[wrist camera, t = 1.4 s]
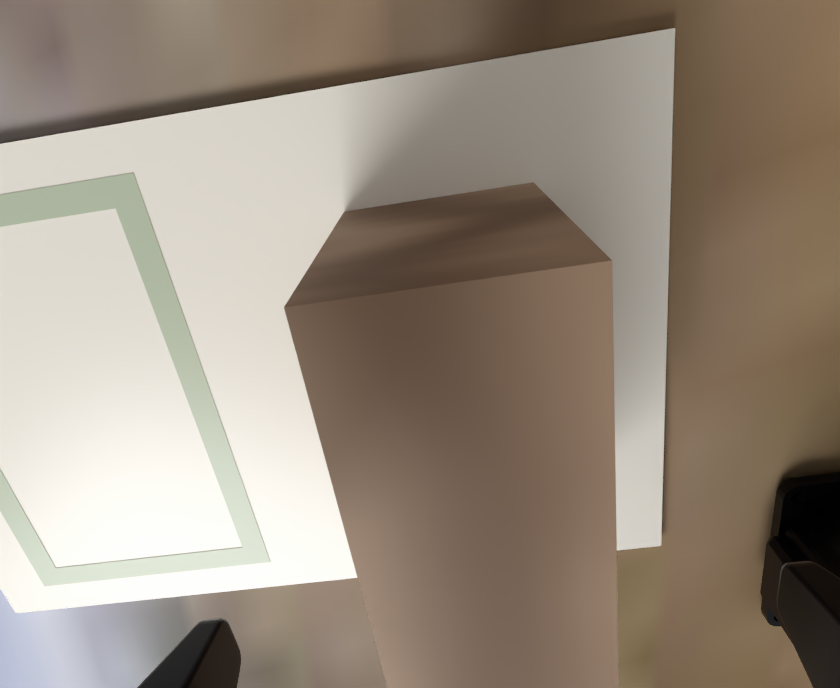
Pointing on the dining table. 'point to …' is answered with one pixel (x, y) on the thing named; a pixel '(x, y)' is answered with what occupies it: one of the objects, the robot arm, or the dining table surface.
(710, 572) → the dining table surface
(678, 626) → the dining table surface
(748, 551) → the dining table surface
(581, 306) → the walnut block
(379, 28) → the dining table surface
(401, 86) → the white flat sheet
